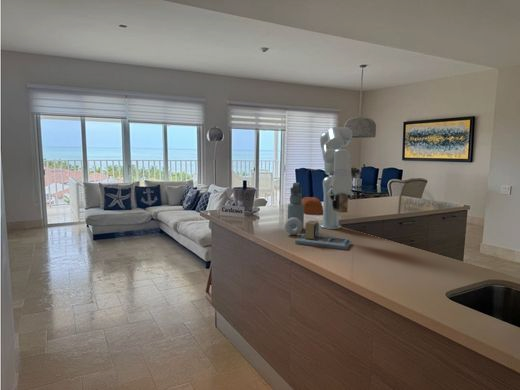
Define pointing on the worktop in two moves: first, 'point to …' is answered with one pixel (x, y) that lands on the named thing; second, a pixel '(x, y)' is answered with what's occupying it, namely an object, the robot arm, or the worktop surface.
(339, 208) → the tan wooden block
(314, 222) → the rail
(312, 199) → the bread
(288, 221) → the donut
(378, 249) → the worktop surface
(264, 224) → the worktop surface
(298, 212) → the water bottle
